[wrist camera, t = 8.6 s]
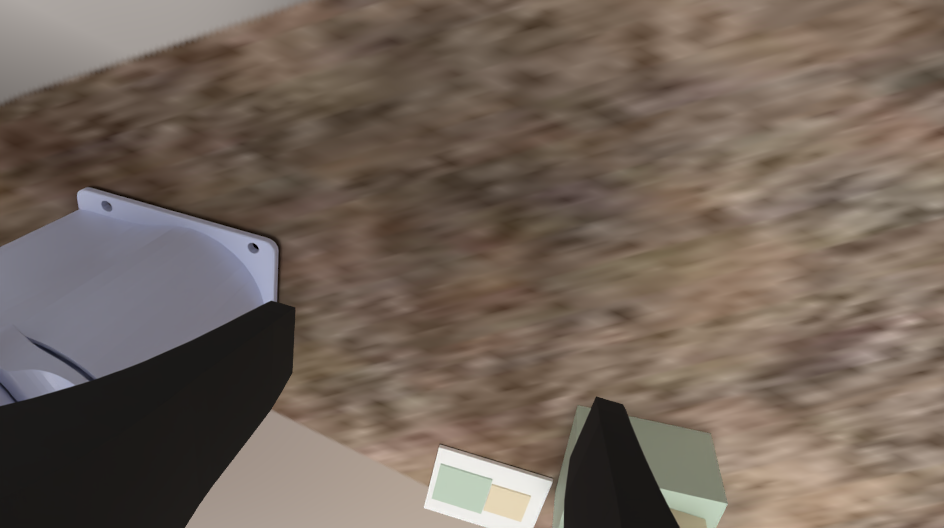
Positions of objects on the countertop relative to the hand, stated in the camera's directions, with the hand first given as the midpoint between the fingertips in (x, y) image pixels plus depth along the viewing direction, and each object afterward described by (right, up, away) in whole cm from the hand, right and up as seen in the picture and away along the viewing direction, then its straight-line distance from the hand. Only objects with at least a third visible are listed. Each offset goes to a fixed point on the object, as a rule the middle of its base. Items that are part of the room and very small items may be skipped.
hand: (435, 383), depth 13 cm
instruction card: (+2, -9, +17) cm, 19 cm away
